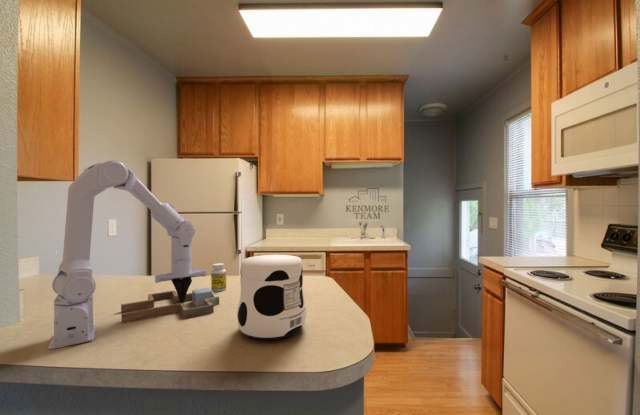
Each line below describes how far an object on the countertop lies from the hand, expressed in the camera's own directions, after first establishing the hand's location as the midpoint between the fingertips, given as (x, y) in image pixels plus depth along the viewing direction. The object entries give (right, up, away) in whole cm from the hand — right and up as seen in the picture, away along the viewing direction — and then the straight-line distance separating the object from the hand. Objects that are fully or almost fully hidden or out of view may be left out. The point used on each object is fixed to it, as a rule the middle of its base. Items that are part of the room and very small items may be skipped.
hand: (181, 301), depth 92 cm
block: (+5, -2, +4) cm, 6 cm away
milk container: (+31, -2, -18) cm, 36 cm away
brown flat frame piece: (-3, -1, -2) cm, 3 cm away
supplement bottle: (+6, -1, +18) cm, 19 cm away
